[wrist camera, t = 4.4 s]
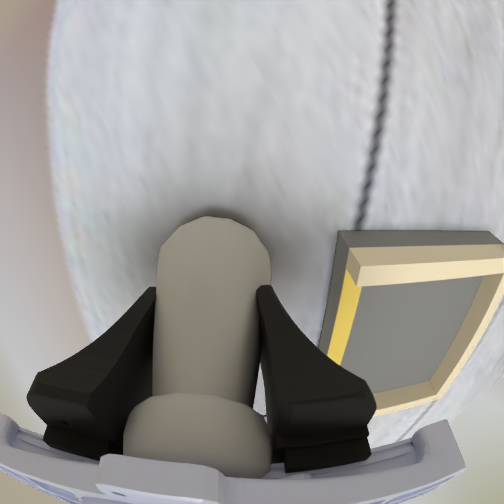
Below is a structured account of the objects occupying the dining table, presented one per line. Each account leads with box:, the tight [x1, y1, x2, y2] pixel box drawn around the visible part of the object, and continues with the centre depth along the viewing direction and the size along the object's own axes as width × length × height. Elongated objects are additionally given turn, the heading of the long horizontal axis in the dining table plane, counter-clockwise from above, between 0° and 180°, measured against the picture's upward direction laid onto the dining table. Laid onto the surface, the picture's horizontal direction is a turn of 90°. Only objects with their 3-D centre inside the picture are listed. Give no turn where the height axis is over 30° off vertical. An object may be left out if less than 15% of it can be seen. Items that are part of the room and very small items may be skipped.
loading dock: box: [318, 231, 504, 417], centre depth 19 cm, size 16×13×4 cm
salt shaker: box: [123, 216, 274, 479], centre depth 11 cm, size 6×6×13 cm
